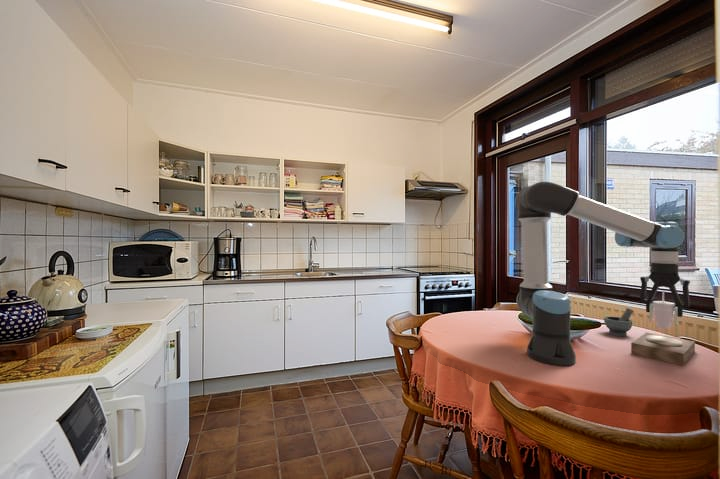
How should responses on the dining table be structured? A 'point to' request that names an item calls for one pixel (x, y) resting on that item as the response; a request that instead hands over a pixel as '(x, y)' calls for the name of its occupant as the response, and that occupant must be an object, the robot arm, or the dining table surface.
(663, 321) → the smoothie
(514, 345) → the dining table surface
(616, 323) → the mortar and pestle
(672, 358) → the base
